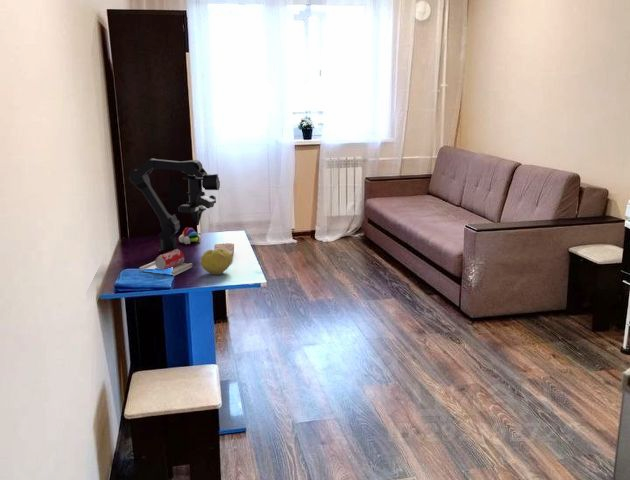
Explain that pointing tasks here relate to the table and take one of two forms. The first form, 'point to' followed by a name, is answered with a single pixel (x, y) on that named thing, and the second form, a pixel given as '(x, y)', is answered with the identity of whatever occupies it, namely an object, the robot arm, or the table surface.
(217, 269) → the fruit
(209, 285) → the table surface
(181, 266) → the tray
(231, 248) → the brick
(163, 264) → the beverage can
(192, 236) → the multicoloured layered toy figurine
